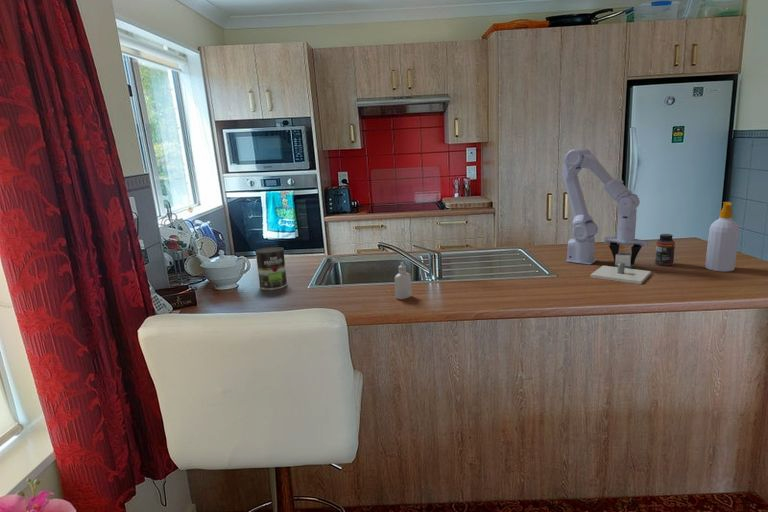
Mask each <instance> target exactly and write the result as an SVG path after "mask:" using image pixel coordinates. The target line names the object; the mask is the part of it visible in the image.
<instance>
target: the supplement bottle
mask: <svg viewBox="0 0 768 512" xmlns="http://www.w3.org/2000/svg"><path fill="white" fill-rule="evenodd" d="M673 237H674V236H673V234H669V233H661V234H660V235H659V239H658V240H657V241H656V246H655V247H656V248H655V257H654V259H655V261H654V262H655V265H657V266H663V267H666V266H667V267H668V266H673V264H674V261H675V259H674V258H675V250H676V249H675V247H676V242H675V240H673Z"/></svg>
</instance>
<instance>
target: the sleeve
mask: <svg viewBox="0 0 768 512" xmlns="http://www.w3.org/2000/svg"><path fill="white" fill-rule="evenodd" d="M631 257H632V252H624V251H619V252H618V253H617V254H616V257H615V263H614V267H618V263H625V268H628V269H633V267H634V264H633V265H631Z"/></svg>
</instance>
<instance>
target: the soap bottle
mask: <svg viewBox="0 0 768 512" xmlns="http://www.w3.org/2000/svg"><path fill="white" fill-rule="evenodd" d="M722 203H723V205H722V208H721V210H719V217H718V219H716V220H715V221H713V222H712V223H711V224H710V225H709V226H710V227H709V230H708V239H707V248H706V256H705V265H704V266H705V268H706V269H707V270H710V271H715V272H723V273H724V272H725V273H727V272H733V271H735V268H736V260H737V253H738V243H739V237H740V236H739V235H740V226H739V225H738V223H737V222H736V221H735V220H733V210H732V207H733V204H732V202H731V201H723V202H722Z"/></svg>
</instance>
